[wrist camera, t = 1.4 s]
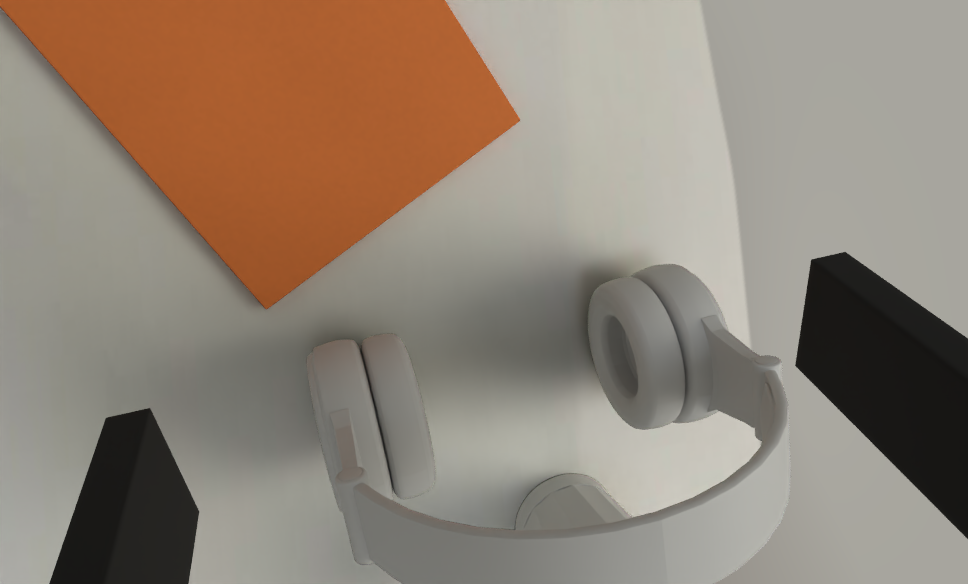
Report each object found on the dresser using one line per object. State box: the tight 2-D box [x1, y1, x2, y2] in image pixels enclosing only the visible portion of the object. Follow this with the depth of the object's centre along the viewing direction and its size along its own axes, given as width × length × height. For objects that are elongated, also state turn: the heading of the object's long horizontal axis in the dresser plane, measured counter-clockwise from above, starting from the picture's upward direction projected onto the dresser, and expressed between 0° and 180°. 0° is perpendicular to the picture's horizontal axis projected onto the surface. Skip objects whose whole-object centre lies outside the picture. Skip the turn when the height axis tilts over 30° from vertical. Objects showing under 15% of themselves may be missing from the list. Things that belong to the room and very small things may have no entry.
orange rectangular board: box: [0, 0, 520, 309], centre depth 33 cm, size 20×16×1 cm
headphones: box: [306, 264, 791, 584], centre depth 31 cm, size 20×8×19 cm, turn 99°
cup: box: [515, 474, 632, 530], centre depth 39 cm, size 8×8×12 cm
